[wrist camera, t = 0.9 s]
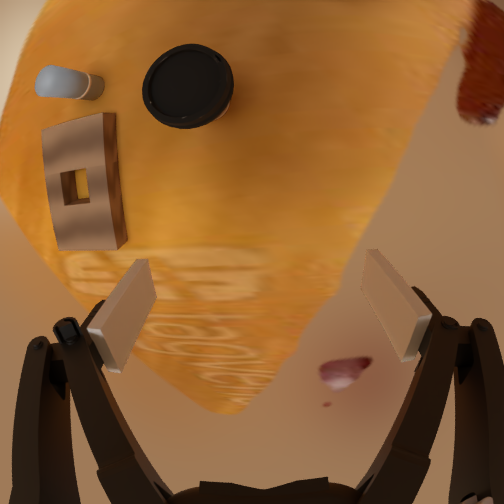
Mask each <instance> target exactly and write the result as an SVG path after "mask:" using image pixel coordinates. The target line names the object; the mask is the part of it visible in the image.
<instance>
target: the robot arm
mask: <svg viewBox="0 0 504 504" xmlns="http://www.w3.org/2000/svg"><path fill="white" fill-rule="evenodd" d="M361 290H362V292H363V293H364V295H365V297H366V299H367V300H368V302H369V304H370V306H371V307H372V309H373V311H374V313H375V314H376V316H377V318H378V319H379V322H380V323H381V325H382V327H383V329H384V331H385V332H386V334H387V336H388V338H389V340H390V342H391V344H392V345H393V347H394V349H395V351H396V353H397V355H398V357H399V359H400V361H401V362H405V361H410V360H414V359H415V357H416V354H417V352H418V351H419V352H420V354H421V358H420V360H419V363H418V365H417V367H416V369H415V375H414V377H413V380H412V382H411V385H410V388H409V390H408V392H407V395H406V397H405V400H404V402H403V404H402V407H401V409H400V411H399V413H398V415H397V418H396V420H395V422H394V424H393V426H392V428H391V430H390V432H389V434H388V436H387V438H386V440H385V442H384V444H383V446H382V448H381V449H380V451H379V453H378V455H377V457H376V458H375V460H374V462H373V463H372V465H371V467H370V468H369V470H368V472H367V473H366V475H365V476H364V477H363V479H362V480H361V481H360V483H359V484H358V485H357V487H356V488H355V489H353V488H351V487H349V486H346V485H342V484H337V483H329V482H328V477H323V478H315V479H307V480H299V481H294V482H291V483H287V484H284V485H281V486H277V487H273V488H270V489H257V488H251V487H247V486H242V485H238V484H234V483H223V482H206V481H200V486H199V487H195V488H190V489H187V490H184V491H181V492H179V493H177V494H175V495H174V494H173V493H172V491H171V490H170V489H169V488H168V487H167V485H166V484H165V483H164V482H163V481H162V479H161V478H160V477H159V475H158V474H157V472H156V471H155V469H154V468H153V466H152V465H151V463H150V462H149V460H148V458H147V457H146V455H145V454H144V452H143V450H142V449H141V447H140V445H139V444H138V442H137V440H136V438H135V437H134V435H133V433H132V431H131V430H130V428H129V426H128V424H127V422H126V420H125V418H124V416H123V414H122V412H121V411H120V409H119V406H118V405H117V402H116V400H115V398H114V397H113V394H112V392H111V390H110V387H109V385H108V383H107V381H106V378H105V376H104V374H103V372H102V370H101V368H102V366H103V364H105V366H106V368H107V370H108V371H109V372H116V373H122V371H123V368H124V366H125V364H126V361H127V359H128V357H129V355H130V353H131V350H132V348H133V346H134V344H135V342H136V339H137V337H138V335H139V333H140V331H141V329H142V327H143V324H144V322H145V320H146V318H147V316H148V314H149V312H150V310H151V308H152V306H153V304H154V302H155V300H156V298H157V296H156V292H155V288H154V284H153V280H152V275H151V271H150V267H149V262H148V259H136V261H135V262H134V263H133V265H132V266H131V267H130V268H129V270H128V271H127V272H126V274H125V275H124V276H123V278H122V279H121V280H120V282H119V283H118V284H117V286H116V287H115V288H114V290H113V291H112V292H111V294H110V295H109V297H108V298H107V299H106V300H102V301H100V302H99V303H98V304H96V305H95V307H94V308H93V309H92V311H91V312H90V314H89V315H88V317H87V318H86V319H85V321H84V322H83V324H82V325H81V327H79V324H78V322H77V320H76V319H75V318H73V317H66V318H63V319H61V320H59V321H58V322H57V323H56V324H55V325H54V327H53V332H54V334H55V336H56V338H57V340H58V341H59V343H53V344H50V342H49V341H48V339H47V338H46V337H44V336H39V337H36V338H34V339H33V340H32V341H31V342H30V343H29V345H28V347H27V351H26V355H25V360H24V364H23V368H22V373H21V378H20V383H19V389H18V396H17V402H16V409H15V419H14V428H13V429H14V430H13V443H12V484H13V487H12V491H11V495H10V500H9V504H81V502H80V497H79V492H78V487H77V480H76V475H75V467H74V458H73V449H72V438H71V419H70V389H71V393H72V397H73V400H74V403H75V406H76V410H77V412H78V416H79V419H80V422H81V424H82V427H83V430H84V433H85V435H86V438H87V441H88V443H89V445H90V448H91V450H92V453H93V455H94V457H95V459H96V462H97V464H98V467H99V470H97V476H98V478H99V481H100V483H101V485H102V487H103V489H104V490H105V492H106V494H107V496H108V498H109V500H110V502H111V504H412V503H413V501H414V499H415V497H416V495H417V493H418V491H419V489H420V487H421V484H422V483H423V480H424V478H425V476H426V474H427V471H428V469H429V466H430V462H431V460H430V459H429V453H430V450H431V448H432V445H433V442H434V440H435V437H436V434H437V431H438V427H439V425H440V421H441V418H442V415H443V411H444V408H445V404H446V400H447V396H448V392H449V389H450V384H451V380H452V375H453V372H454V386H455V444H454V458H453V469H452V476H451V484H450V491H449V504H504V364H503V360H502V356H501V352H500V349H499V345H498V342H497V339H496V335H495V332H494V329H493V327H492V325H491V324H490V323H489V322H488V321H487V320H485V319H482V318H476V319H474V320H473V321H472V323H471V326H460V325H459V323H458V322H457V321H456V320H455V319H453V318H451V317H448V316H442V315H441V313H440V312H439V311H438V310H437V309H436V307H435V306H434V305H433V304H432V303H431V301H430V300H429V299H428V298H427V297H426V295H425V294H424V293H423V292H422V291H421V290H419V289H418V288H416V287H415V286H414V287H410V286H409V285H408V283H407V282H406V281H405V280H404V279H403V277H402V276H401V275H400V274H399V273H398V272H397V270H396V269H395V268H394V267H393V266H392V265H391V264H390V262H389V261H388V260H387V259H386V258H385V257H384V256H383V254H382V253H381V252H380V251H379V250H378V249H371V250H367V251H366V257H365V265H364V271H363V278H362V284H361Z"/></svg>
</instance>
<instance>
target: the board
mask: <svg viewBox="0 0 504 504" xmlns="http://www.w3.org/2000/svg"><path fill="white" fill-rule="evenodd" d="M41 131H42V149H43V162H44V171H45V180H46V187H47V194H48V200H49V206H50V212H51V217H52V222H53V227H54V232H55V236H56V240H57V245H58V249H59V251H85V250H118V249H119V248H120V247H121V246H122V245H123V244H124V243H125V242H126V241H127V240H128V239H127V233H126V227H125V220H124V213H123V206H122V198H121V190H120V180H119V170H118V157H117V142H116V115H115V113H99V114H94V115H90V116H86V117H83V118H79V119H75V120H72V121H68V122H65V123H61V124H58V125H55V126H52V127H49V128H46V129H43V130H41ZM82 168H86V173H87V182H88V190H89V198H84V199H78V197H77V190H76V182H75V174H74V170H77V169H82Z"/></svg>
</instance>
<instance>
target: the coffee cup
mask: <svg viewBox="0 0 504 504" xmlns="http://www.w3.org/2000/svg"><path fill="white" fill-rule="evenodd" d="M233 88H234V80H233V74H232V71H231V68H230V66H229V64H228V63H227V61H226V60H225V59H224V58H223V57H222V56H221V55H220V54H219V53H217V52H216V51H214V50H212V49H210V48H208V47H206V46H203V45H199V44H184V45H181V46H177V47H175V48H173V49H171V50H169V51H167V52H166V53H164V54H162V55H161V56H160V57H159V58H158V59H157V60H156V61H155V62H154V63H153V64H152V66H151V67H150V68H149V70H148V72H147V74H146V76H145V79H144V81H143V87H142V95H143V100H144V104H145V106H146V107H147V109H148V111H149V112H150V113H151V114H152V115H153V116H154V117H155V118H156V119H157V120H158V121H160V122H161V123H163V124H165V125H167V126H170V127H175V128H179V129H191V128H197V127H200V126H203V125H206V124H208V123H209V122H211V121H214V120H217V119H219V118H220V117H222V116H223V115H224V114H225V113H226V111H227V109H228V107H229V104H230V100H231V97H232V94H233Z"/></svg>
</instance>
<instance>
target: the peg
mask: <svg viewBox="0 0 504 504" xmlns="http://www.w3.org/2000/svg"><path fill="white" fill-rule="evenodd" d="M103 90H104V81H103V79H102V78H101V77H99V76H95V75H92V74H88V73H85V72H80V71H76V70H72V69H67V68H63V67H58V66H54V65H48V66H46V67H44V68H43V69H42V70H41V71H40V73H39V74H38V76H37V78H36V82H35V91H36V93H37V95H39V96H42V97H60V98H72V99H83V100H95V99H97V98H98V97H99V96H100V95H101V94H102V92H103Z"/></svg>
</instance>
